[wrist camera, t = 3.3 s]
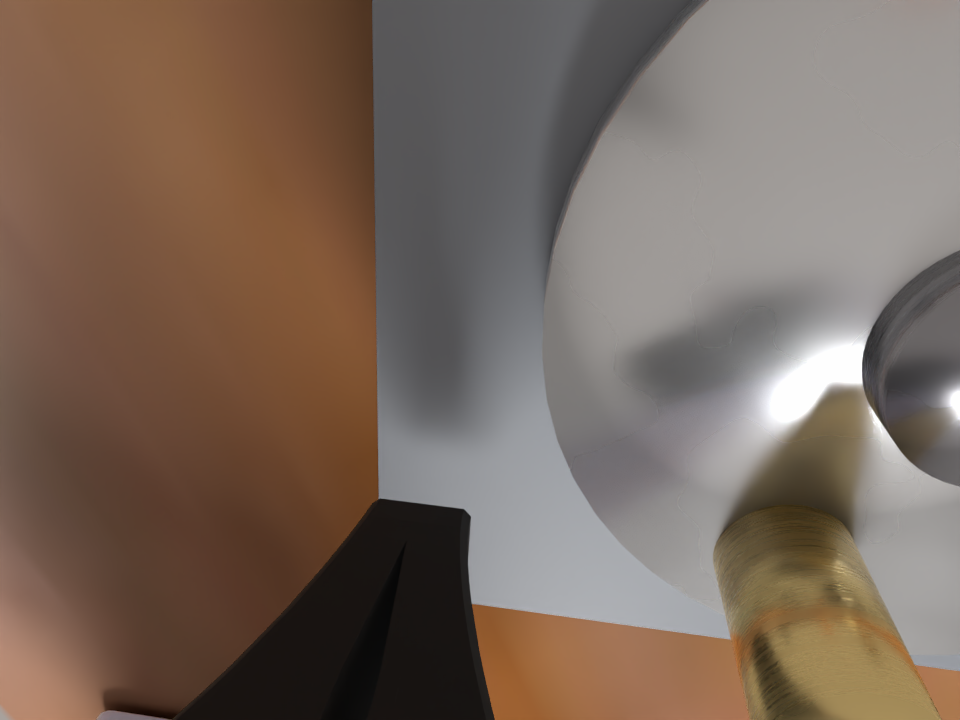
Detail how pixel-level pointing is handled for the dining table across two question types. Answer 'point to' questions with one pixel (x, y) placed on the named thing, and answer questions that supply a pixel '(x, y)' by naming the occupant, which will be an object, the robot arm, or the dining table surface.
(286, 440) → the dining table surface
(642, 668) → the dining table surface
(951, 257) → the flange plate
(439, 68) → the jig board
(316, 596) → the robot arm
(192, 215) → the dining table surface
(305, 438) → the dining table surface
